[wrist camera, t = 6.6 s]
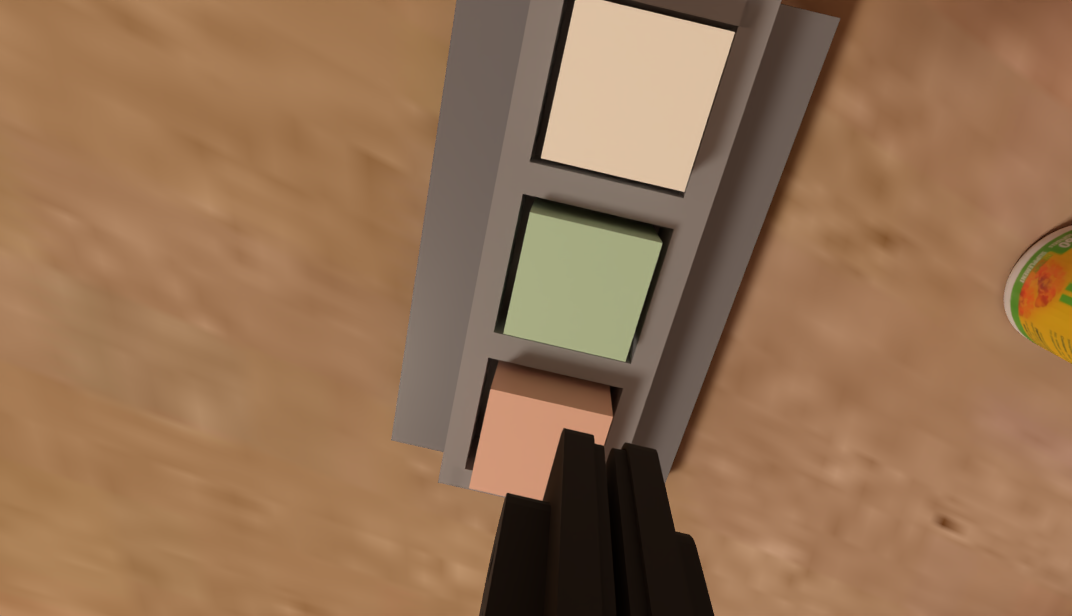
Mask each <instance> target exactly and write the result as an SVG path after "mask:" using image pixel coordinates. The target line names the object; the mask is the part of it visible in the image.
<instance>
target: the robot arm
mask: <svg viewBox="0 0 1072 616" xmlns="http://www.w3.org/2000/svg"><path fill="white" fill-rule="evenodd" d="M479 616H714V613H713V609H712V605H711V601H710V597H709V594H708V590H707V586H706V582H705V578H704V575H703V571H702V567H701V563H700V559H699V556H698V552H697V548H696V545H695V542H694V540H693V538H692V537H691V536H690V535H688V534H684V533H680V532H675V528H674V523H673V519H672V514H671V510H670V506H669V501H668V497H667V492H666V488H665V483H664V479H663V474H662V470H661V465H660V461H659V456H658V453H657V450H656V449H653V448H648V447H644V446H640V445H635V444H631V443H627V442H625V443H624V444H623V446H622V448H621V449H616V448H612V449H611V450H610V453H609V455H608V458H607V462H606V463H605V449H604V446H603V445H599V444H595V439H594V435H592V434H588V433H584V432H579V431H575V430H571V429H566V428H563V430H562V433H561V436H560V439H559V443H558V447H557V450H556V454H555V457H554V461H553V465H552V468H551V472H550V475H549V479H548V482H547V486H546V490H545V493H544V497H543V500H542V501H541V500H537V499H532V498H528V497H524V496H519V495H515V494H511V493H506V497H505V500H504V504H503V508H502V512H501V516H500V520H499V524H498V528H497V532H496V537H495V541H494V545H493V550H492V554H491V559H490V563H489V568H488V573H487V578H486V583H485V588H484V593H483V598H482V604H481V609H480V614H479Z"/></svg>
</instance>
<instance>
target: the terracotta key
mask: <svg viewBox="0 0 1072 616" xmlns="http://www.w3.org/2000/svg"><path fill="white" fill-rule="evenodd" d="M612 418H613V412H612V403H611V394H610V385H606V384H601V383H597V382H593V381H588V380H584V379H580V378H575V377H571V376H567V375H562V374H558V373H553V372H549V371H545V370H540V369H536V368H532V367H527V366H523V365H519V364H514V363H510V362H505V361H501V360H499V361H498V365H497V368H496V372H495V375H494V379H493V382H492V385H491V389H490V393H489V398H488V403H487V407H486V412H485V416H484V421H483V426H482V430H481V435H480V439H479V444H478V449H477V453H476V458H475V462H474V467H473V472H472V476H471V481H470V485H469V488H470V489H474V490H478V491H483V492H487V493H492V494H496V495H501V496H505V497H506V493H511V494H515V495H519V496H524V497H528V498H532V499H537V500H541V501H542V500H543V497H544V493H545V490H546V486H547V482H548V479H549V475H550V472H551V468H552V465H553V461H554V457H555V454H556V450H557V447H558V443H559V439H560V436H561V433H562V430H563V428H566V429H571V430H575V431H579V432H584V433H588V434H592V435H594V439H595V444H599V445H603V446H604V444H605V440H606V437H607V434H608V431H609V428H610V425H611V422H612Z"/></svg>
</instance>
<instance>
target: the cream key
mask: <svg viewBox="0 0 1072 616" xmlns="http://www.w3.org/2000/svg"><path fill="white" fill-rule="evenodd" d="M734 34H735V32H733V31H728V30H724V29H720V28H716V27H712V26H708V25H703V24H699V23H695V22H691V21H687V20H683V19H679V18H674V17H670V16H666V15H662V14H658V13H654V12H649V11H645V10H641V9H637V8H633V7H629V6H624V5H620V4H616V3H612V2H608V1H604V0H575V3H574V8H573V12H572V17H571V22H570V26H569V31H568V35H567V40H566V45H565V49H564V54H563V58H562V63H561V68H560V72H559V77H558V81H557V86H556V91H555V95H554V100H553V104H552V109H551V113H550V118H549V123H548V127H547V132H546V136H545V141H544V146H543V150H542V155H541V158H542V159H547V160H551V161H555V162H559V163H564V164H568V165H572V166H576V167H581V168H585V169H589V170H593V171H597V172H602V173H606V174H610V175H614V176H619V177H623V178H627V179H631V180H636V181H640V182H644V183H648V184H653V185H657V186H661V187H665V188H670V189H674V190H678V191H682V192H685V188H686V185H687V182H688V179H689V176H690V173H691V170H692V166H693V163H694V160H695V157H696V154H697V151H698V147H699V144H700V141H701V138H702V135H703V132H704V129H705V125H706V122H707V119H708V116H709V113H710V110H711V106H712V103H713V100H714V97H715V94H716V91H717V88H718V84H719V81H720V78H721V75H722V72H723V69H724V66H725V62H726V59H727V56H728V53H729V50H730V47H731V43H732V40H733V37H734Z"/></svg>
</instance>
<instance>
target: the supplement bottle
mask: <svg viewBox="0 0 1072 616" xmlns="http://www.w3.org/2000/svg"><path fill="white" fill-rule="evenodd" d="M1004 308H1005V312H1006V314H1007V317H1008V319H1009V321H1010V322H1011V324H1012V325H1013V327H1014V328H1015V329H1016V330H1017V331H1018V332H1019V333H1020V334H1021V335H1023V336H1024V337H1026V338H1027V339H1029V340H1031V341H1032V342H1034V343H1035V344H1037V345H1039V346H1041V347H1042V348H1044V349H1046V350H1048V351H1050V352H1051V353H1053V354H1055V355H1057V356H1059V357H1061V358H1062V359H1064V360H1066V361H1068V362H1070V363H1071V364H1072V225H1071V226H1068V227H1065V228H1062V229H1059V230H1057V231H1055V232H1053V233H1051V234H1049V235H1047V236H1046V237H1044V238H1042V239H1041V240H1040V241H1038V242H1037V243H1036V244H1034V245H1033V246H1032V247H1031V248H1030V249H1029V250H1028V251H1027V252H1026V253H1025V254H1024V255H1023V256H1022V257H1021V258H1020V259H1019V261H1018V262H1017V263H1016V265H1015V266H1014V268H1013V270H1012V271H1011V273H1010V275H1009V278H1008V280H1007V283H1006V286H1005V291H1004Z"/></svg>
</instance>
